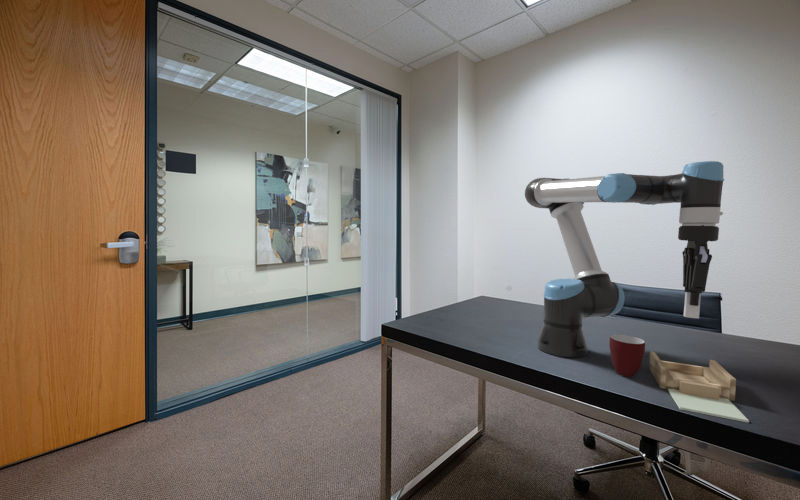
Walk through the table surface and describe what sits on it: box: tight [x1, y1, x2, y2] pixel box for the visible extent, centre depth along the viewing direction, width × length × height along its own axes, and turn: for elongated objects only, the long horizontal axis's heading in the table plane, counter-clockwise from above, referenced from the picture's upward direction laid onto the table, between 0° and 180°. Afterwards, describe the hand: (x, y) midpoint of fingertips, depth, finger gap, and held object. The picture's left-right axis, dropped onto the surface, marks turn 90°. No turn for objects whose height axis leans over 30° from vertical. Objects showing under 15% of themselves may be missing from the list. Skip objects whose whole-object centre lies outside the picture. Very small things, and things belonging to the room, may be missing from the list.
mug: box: [608, 334, 646, 378], centre depth 92 cm, size 11×8×10 cm
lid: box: [667, 380, 750, 424], centre depth 75 cm, size 11×10×4 cm
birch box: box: [648, 351, 737, 402], centre depth 86 cm, size 14×13×5 cm
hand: (691, 317), depth 84 cm, fingers closed
